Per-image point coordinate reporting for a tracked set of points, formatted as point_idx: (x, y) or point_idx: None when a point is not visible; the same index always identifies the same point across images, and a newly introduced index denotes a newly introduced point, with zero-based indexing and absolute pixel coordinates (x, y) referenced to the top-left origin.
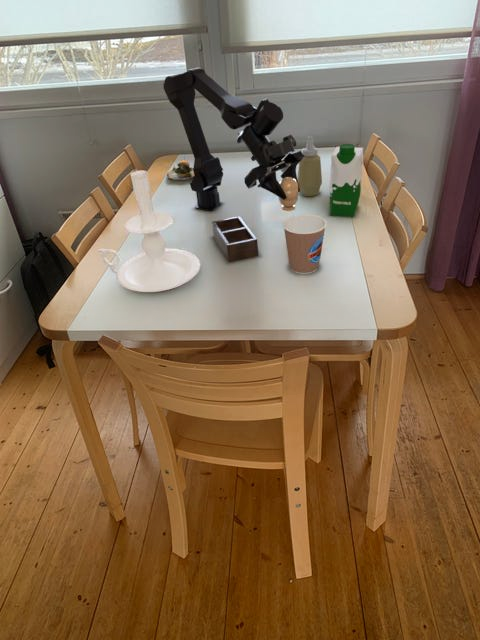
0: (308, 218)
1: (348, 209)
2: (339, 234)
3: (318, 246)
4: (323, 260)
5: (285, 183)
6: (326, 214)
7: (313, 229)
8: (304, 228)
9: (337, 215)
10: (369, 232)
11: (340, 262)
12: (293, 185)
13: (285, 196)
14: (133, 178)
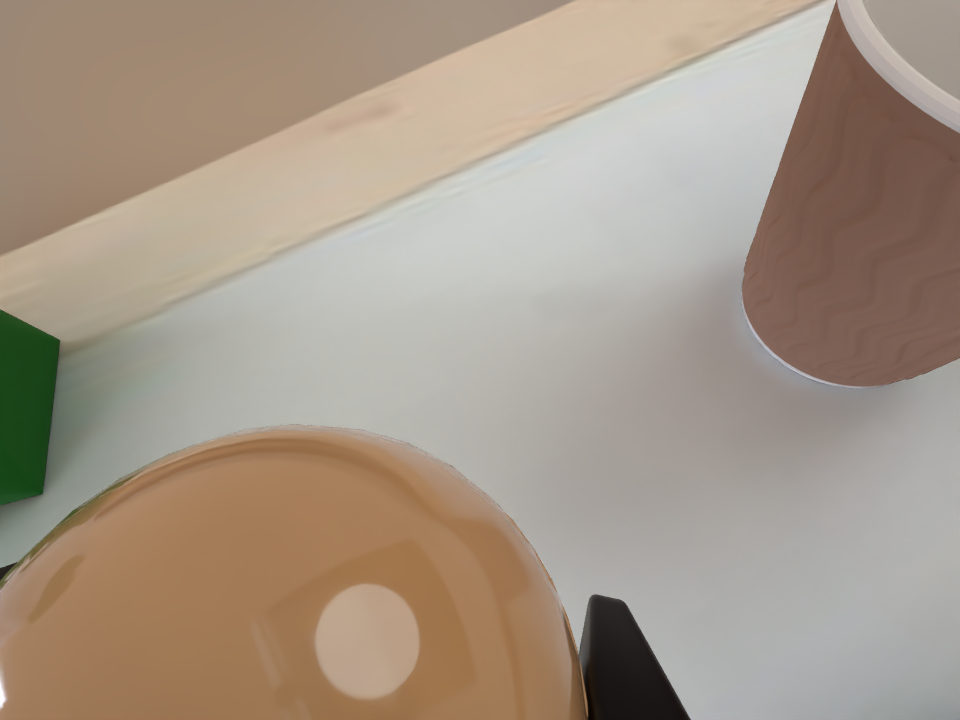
0: (875, 90)
1: (18, 344)
2: (328, 315)
3: (947, 59)
4: (682, 254)
5: (497, 715)
6: (26, 531)
7: (811, 135)
8: (853, 202)
9: (48, 441)
10: (254, 196)
11: (647, 179)
12: (401, 447)
13: (621, 614)
14: None
